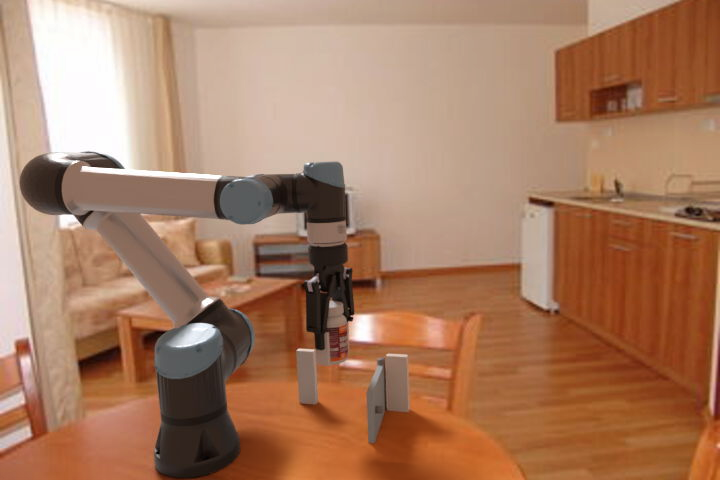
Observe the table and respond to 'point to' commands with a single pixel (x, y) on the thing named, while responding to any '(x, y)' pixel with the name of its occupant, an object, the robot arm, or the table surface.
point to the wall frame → (394, 374)
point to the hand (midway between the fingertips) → (333, 358)
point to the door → (376, 400)
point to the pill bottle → (337, 333)
